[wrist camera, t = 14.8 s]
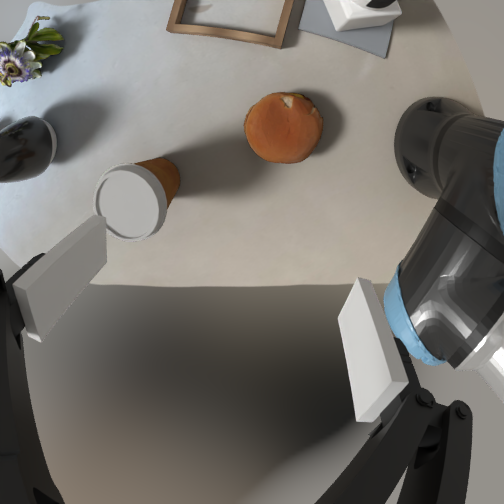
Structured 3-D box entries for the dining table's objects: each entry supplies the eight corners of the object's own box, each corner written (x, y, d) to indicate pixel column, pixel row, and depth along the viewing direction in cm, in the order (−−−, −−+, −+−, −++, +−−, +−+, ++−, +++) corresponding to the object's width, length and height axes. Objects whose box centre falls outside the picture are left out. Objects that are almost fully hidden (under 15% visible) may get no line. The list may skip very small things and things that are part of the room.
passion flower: (53, 73, 38) (-5, 95, 31) (50, 21, 31) (-10, 40, 24) (70, 68, 33) (-1, 93, 25) (68, 6, 26) (-6, 26, 19)
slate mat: (398, -8, 25) (399, -9, 25) (383, 58, 31) (385, 58, 31) (316, -38, 25) (316, -39, 24) (298, 29, 31) (298, 28, 30)
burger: (256, 166, 40) (253, 174, 36) (238, 102, 36) (234, 101, 32) (326, 152, 39) (333, 158, 35) (311, 86, 35) (316, 84, 30)
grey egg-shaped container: (23, 118, 37) (-40, 137, 24) (63, 108, 37) (-5, 123, 23) (28, 172, 42) (-30, 203, 29) (68, 168, 42) (6, 200, 28)
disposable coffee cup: (198, 156, 40) (171, 178, 30) (182, 217, 45) (155, 255, 34) (137, 140, 39) (94, 157, 29) (126, 199, 44) (86, 231, 33)
